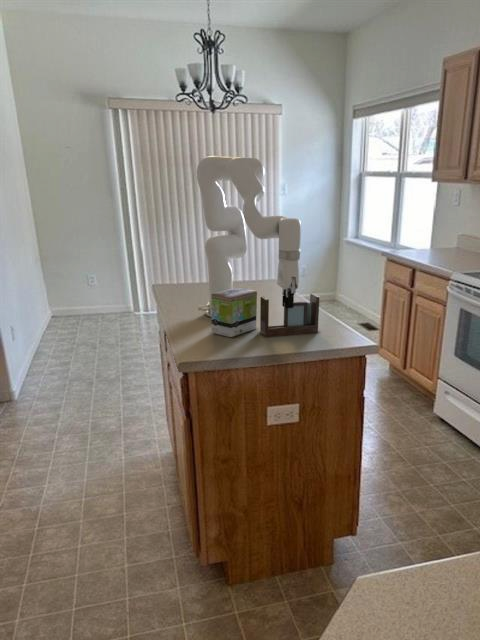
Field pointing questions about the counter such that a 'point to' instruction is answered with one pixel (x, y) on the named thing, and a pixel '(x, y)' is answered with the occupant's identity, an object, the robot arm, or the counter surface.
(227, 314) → the tea box
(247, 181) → the robot arm
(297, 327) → the window frame
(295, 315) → the sliding pane
